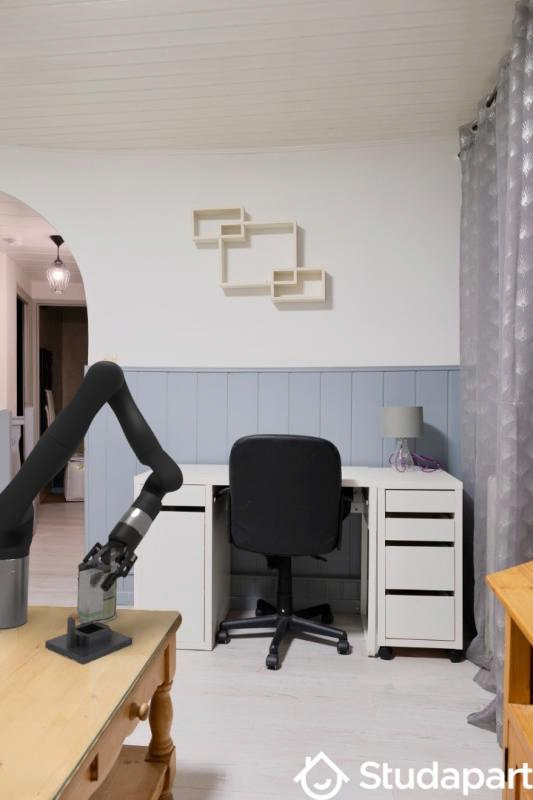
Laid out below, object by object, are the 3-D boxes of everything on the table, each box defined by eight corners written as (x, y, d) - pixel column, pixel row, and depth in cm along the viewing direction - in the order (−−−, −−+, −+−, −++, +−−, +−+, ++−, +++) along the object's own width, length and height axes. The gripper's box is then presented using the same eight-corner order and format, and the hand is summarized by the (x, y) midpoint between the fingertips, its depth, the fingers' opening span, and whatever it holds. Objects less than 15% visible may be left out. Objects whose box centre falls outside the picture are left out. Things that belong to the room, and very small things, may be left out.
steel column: (77, 617, 135) (79, 571, 135) (91, 613, 138) (93, 568, 138) (88, 622, 132) (90, 575, 133) (102, 617, 136) (104, 571, 136)
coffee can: (68, 617, 153) (70, 564, 153) (100, 607, 161) (101, 557, 161) (92, 627, 147) (94, 571, 147) (124, 616, 155) (126, 563, 155)
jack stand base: (45, 647, 133) (46, 611, 134) (94, 629, 145) (95, 596, 145) (82, 664, 125) (84, 625, 125) (132, 644, 137) (133, 608, 137)
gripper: (104, 517, 147) (63, 571, 137) (142, 524, 139) (102, 583, 129) (120, 534, 151) (81, 588, 142) (157, 543, 143) (120, 600, 133)
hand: (91, 585), depth 135 cm, fingers open, 8 cm apart
